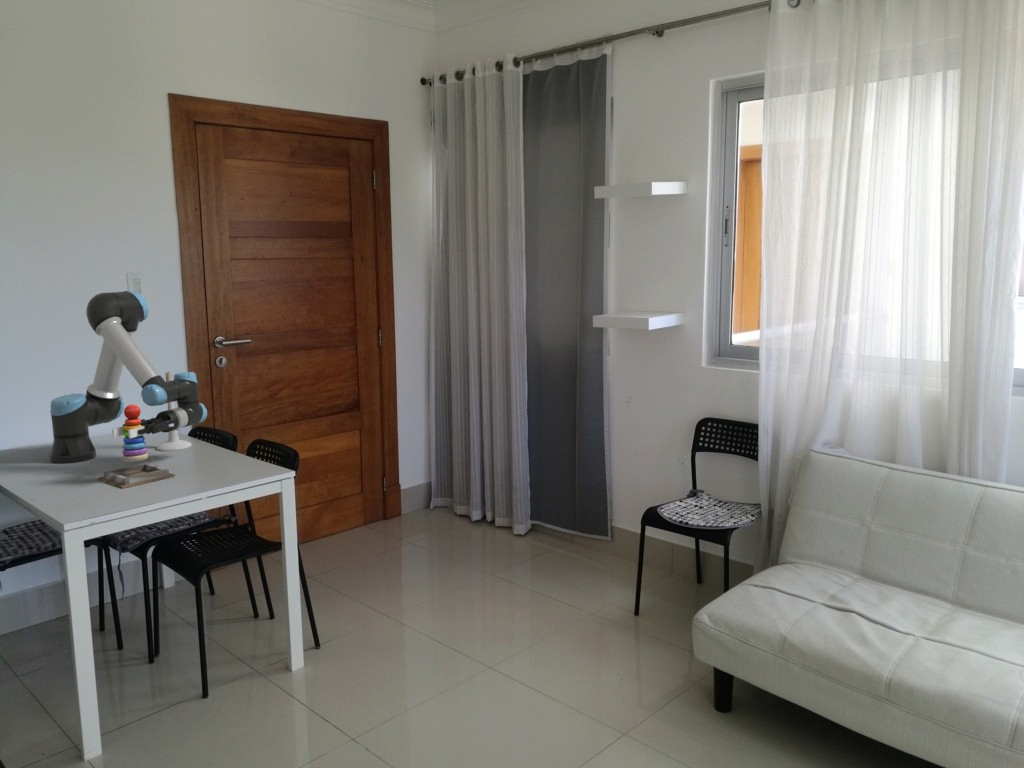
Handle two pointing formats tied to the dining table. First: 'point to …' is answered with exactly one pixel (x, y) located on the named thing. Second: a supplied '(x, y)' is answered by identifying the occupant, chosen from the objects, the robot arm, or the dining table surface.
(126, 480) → the plate
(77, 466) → the dining table surface
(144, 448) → the stacking toy
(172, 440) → the candlestick
